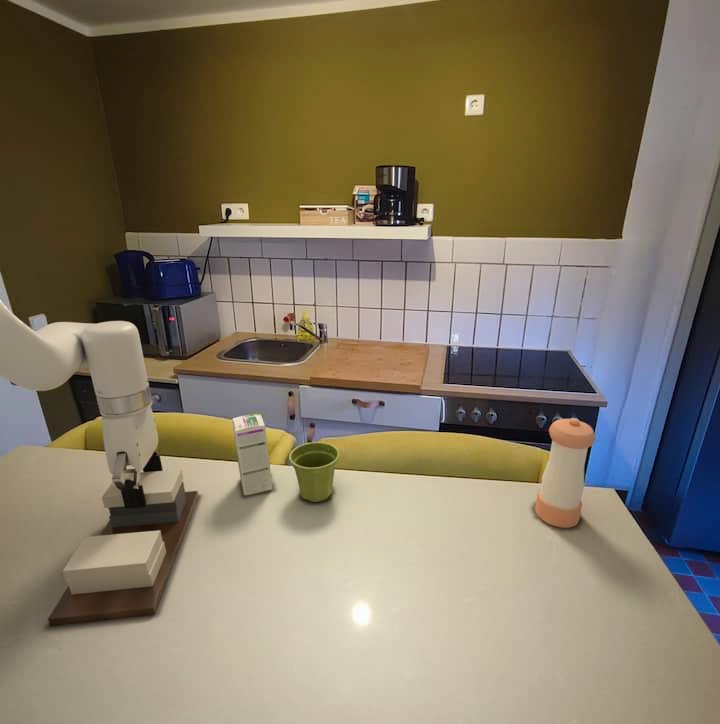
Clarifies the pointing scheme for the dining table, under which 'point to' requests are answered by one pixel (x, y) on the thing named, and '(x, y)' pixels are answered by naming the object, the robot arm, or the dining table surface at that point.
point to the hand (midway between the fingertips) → (145, 489)
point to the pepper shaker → (564, 473)
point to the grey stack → (149, 512)
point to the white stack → (115, 562)
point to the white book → (148, 488)
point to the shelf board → (132, 599)
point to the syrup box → (252, 453)
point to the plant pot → (314, 469)
